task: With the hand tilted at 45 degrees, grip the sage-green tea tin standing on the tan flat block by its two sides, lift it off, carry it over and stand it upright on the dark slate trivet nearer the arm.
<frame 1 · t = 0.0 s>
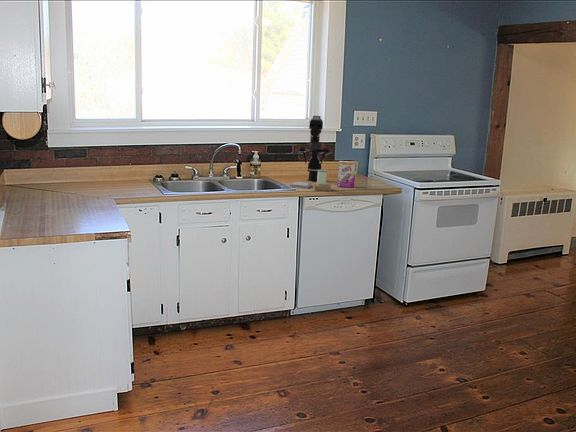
hand: (313, 164, 361), 15 cm above the counter, tool pointing down, fingers open, 9 cm apart
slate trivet: (301, 186, 374), on the counter
tan flat block: (321, 189, 365), on the counter
candy bar box: (345, 187, 380), on the counter
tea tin: (321, 184, 366), point 3 cm above the counter, touching tan flat block
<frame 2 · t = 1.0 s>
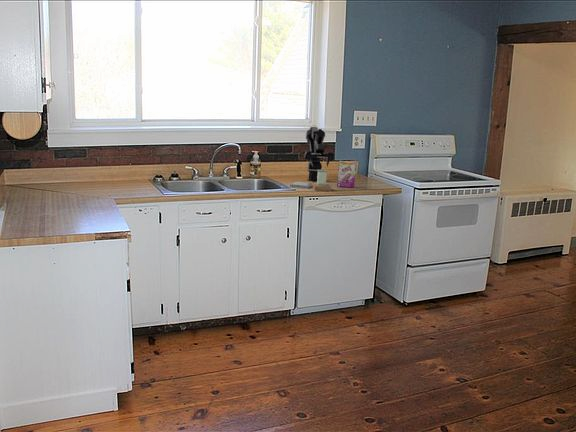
hand: (320, 166, 371), 13 cm above the counter, tool tilted 45°, fingers open, 9 cm apart
nothing on the counter moved.
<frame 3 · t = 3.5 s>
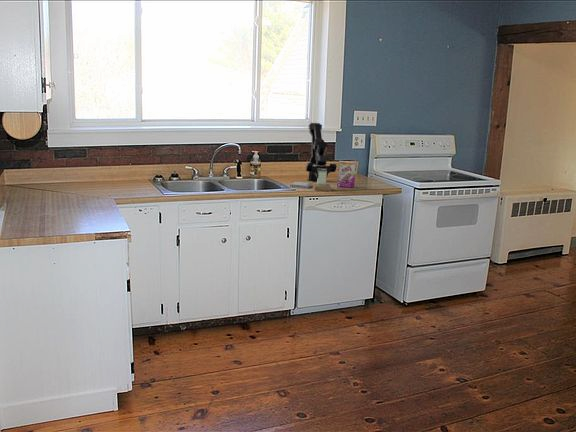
hand: (322, 178, 363), 7 cm above the counter, tool tilted 45°, fingers closed on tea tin, 5 cm apart
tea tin: (321, 184, 366), point 3 cm above the counter, touching gripper, tan flat block
everything else where it was.
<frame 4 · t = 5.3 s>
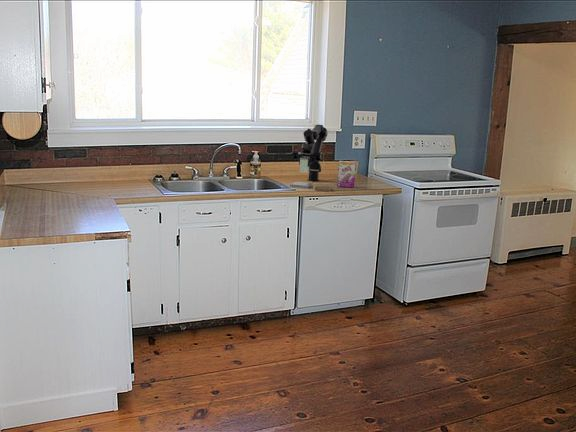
hand: (303, 166, 369), 13 cm above the counter, tool tilted 45°, fingers closed on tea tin, 5 cm apart
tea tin: (304, 172, 371), point 9 cm above the counter, touching gripper
everything else where it was.
when the fingers open (6 cm above the counter, at t = 7.1 s): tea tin stays where it is, resting on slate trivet.
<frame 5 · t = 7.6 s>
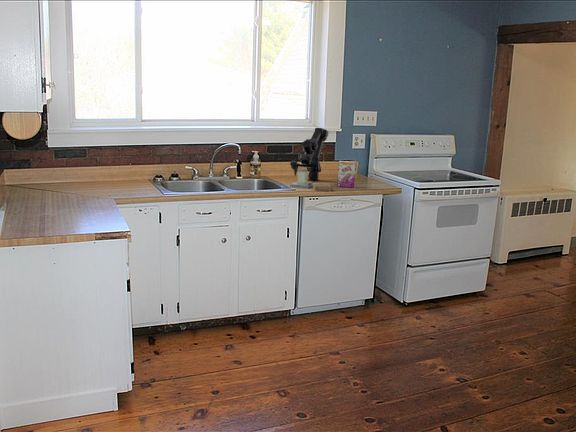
hand: (301, 176, 371), 7 cm above the counter, tool tilted 45°, fingers open, 9 cm apart
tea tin: (302, 183, 374), point 1 cm above the counter, touching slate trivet
everything else where it was.
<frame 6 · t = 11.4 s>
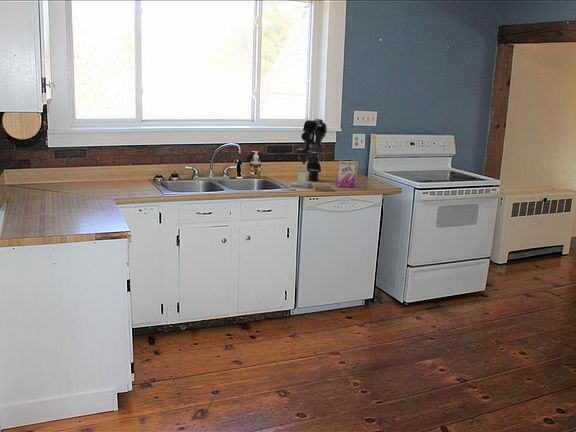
hand: (308, 163, 383), 13 cm above the counter, tool pointing down, fingers open, 9 cm apart
nothing on the counter moved.
at the end: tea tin inside the target area on the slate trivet (0.0 cm from its centre), point 1.5 cm above the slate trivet's base; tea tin tilted 0°; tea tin point 1.5 cm above the counter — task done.
